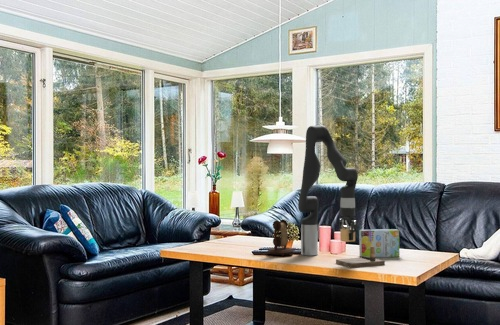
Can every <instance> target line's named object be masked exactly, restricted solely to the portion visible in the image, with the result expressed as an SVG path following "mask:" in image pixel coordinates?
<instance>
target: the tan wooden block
mask: <svg viewBox="0 0 500 325" xmlns="http://www.w3.org/2000/svg"><path fill="white" fill-rule="evenodd" d="M339 230H340V232H339V233H340V235H339V236H340V237H339V239H340V241H341V242H345V243H349V242H350V243H351V242H356V232H354V233H353V240H351V241H350V240H349V230H348V229H340V228H339ZM350 230H351V229H350Z"/></svg>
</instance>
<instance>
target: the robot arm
mask: <svg viewBox="0 0 500 325" xmlns="http://www.w3.org/2000/svg"><path fill="white" fill-rule="evenodd" d="M333 139H334V138H333V137H332V135H331V133H330V131H329V129H328V128H327V127H326V126H325V125H321V124H319V125H310V126H309V127H307V129H306V132H305V153H304V154H305V155H304V162H303V170H302V177H301V178H302V179H301V187H300V192H299V197H298V201H297V202H298V204H297V207H298V212H300V213H310V214H309V215H308V216H305V217H304V218H302V219H301V221H300V223H301V228H300V232H301V236H300V255H302V256H317V255H319V253H318V250H319V249H318V246H319V244H318V239H319V238H318V236H319V235H318V220H319V199H318V197H317V196H313V195H309V192H310V191H311V190H310V189H311V188H312V187H313V186H314V184H315V183H316V182H317V181H318V179H319V177H320V173H321V163H320V160H319V158H318V155H317V154H316V144H317V143H323V144H324V145H325V146H326V157H327V159H328V161H329V163H330V164H331V165H332V167H333V168H334V169H333V170H334V171H335V175H336V177H337V178H338V179H339V181H340V182H345V183H346V184H345V185H343V186H342V187H341V188H340V202H339V203H340V204H339V206H340V208H339V209H340V210H339V211H340V212H339V213H340V216H341V218H338V225H339V226H338V227H339V230H340V229H348V230H349V240H350V241H351V240H353V233H354V232H355V233H356V232H357V225H358V220H354V216H356V198H355V195H356V194H355V192H356V191H355V189H356V187H357V181H358V179H359V178H358V176H359V175H358V171H357V169H356V168H354V167H346V165H347V161H346V159H345V158H344V156H343V155H342V153H341V152H340V150H339V149H338V148H337V146H336V144H335V142H334V140H333ZM308 195H309V196H308ZM350 229H351V230H350Z"/></svg>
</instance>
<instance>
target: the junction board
mask: <svg viewBox="0 0 500 325" xmlns="http://www.w3.org/2000/svg"><path fill="white" fill-rule="evenodd" d="M385 262H386V261H385V260H382V259H379V258H376V257H375V247H374V246H370V257H366V256H360V257H351V258H341V259H340V258H339V259H338V258H337V259H335V264H337V265H340V266H342V267H343V266H344V267H348V268H350V269H351V268H364V267H376V266H385Z"/></svg>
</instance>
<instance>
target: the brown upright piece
mask: <svg viewBox="0 0 500 325" xmlns="http://www.w3.org/2000/svg"><path fill="white" fill-rule="evenodd" d="M288 225H289V224H288V221H287V220H285V219H281V220H278V219H277V220H274V221H273V222H272V228H273V231H274V232H273V236H274V238H273V239H272V243H273V245H274V247H273V248H269V249H267V252H268V253H269V254H270V255H281V258H283V257H284V255H291V254H292V255H293V254H294V249H292V248H290V247H287V246H288V241H289V240H288V231H287V228H288V227H289V226H288ZM279 236H280V237H279ZM268 253H267V254H268Z"/></svg>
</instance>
